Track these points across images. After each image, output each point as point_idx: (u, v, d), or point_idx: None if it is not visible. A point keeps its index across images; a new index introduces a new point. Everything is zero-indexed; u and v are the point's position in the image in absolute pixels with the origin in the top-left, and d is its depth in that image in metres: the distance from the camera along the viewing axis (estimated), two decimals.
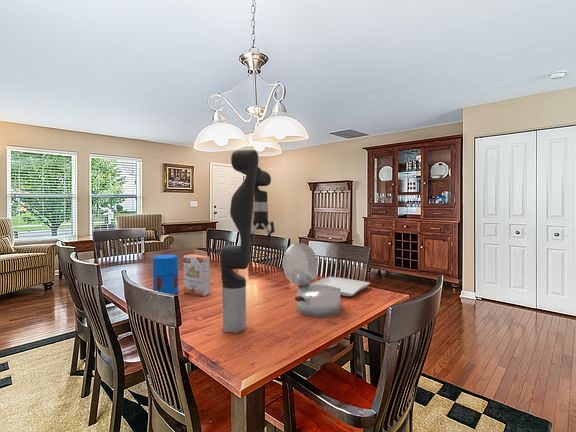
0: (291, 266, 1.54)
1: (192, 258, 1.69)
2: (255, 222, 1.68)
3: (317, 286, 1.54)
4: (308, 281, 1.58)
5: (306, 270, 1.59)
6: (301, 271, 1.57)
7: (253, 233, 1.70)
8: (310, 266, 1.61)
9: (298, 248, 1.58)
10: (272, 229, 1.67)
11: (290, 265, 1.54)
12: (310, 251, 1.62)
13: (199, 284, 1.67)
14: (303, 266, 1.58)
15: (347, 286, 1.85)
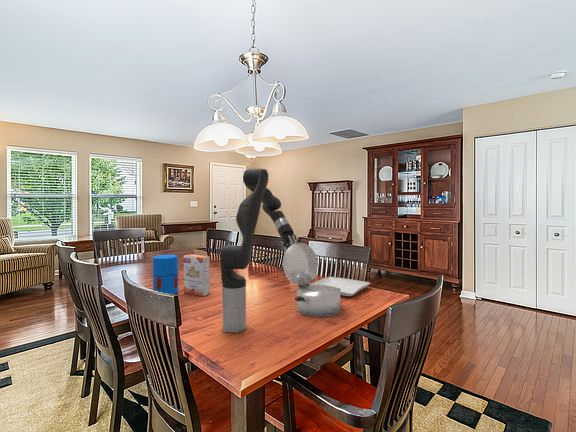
0: (292, 266, 1.54)
1: (192, 258, 1.69)
2: (284, 235, 1.63)
3: (317, 286, 1.54)
4: (308, 281, 1.58)
5: (306, 270, 1.58)
6: (301, 271, 1.57)
7: None
8: (310, 266, 1.60)
9: (298, 248, 1.58)
10: (299, 242, 1.64)
11: (290, 265, 1.53)
12: (310, 251, 1.62)
13: (199, 284, 1.67)
14: (303, 266, 1.58)
15: (347, 286, 1.85)
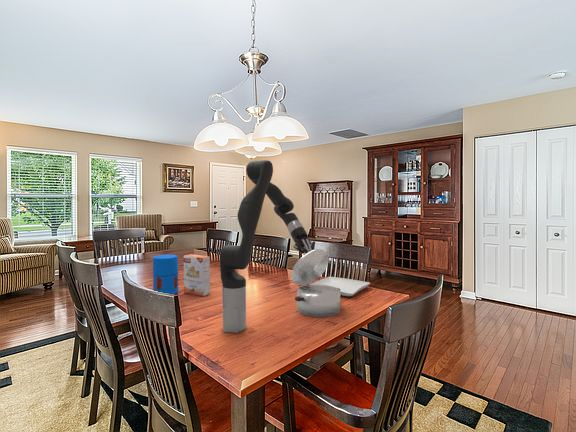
0: (301, 270, 1.48)
1: (192, 258, 1.69)
2: (298, 239, 1.54)
3: (317, 286, 1.54)
4: (309, 282, 1.57)
5: (312, 273, 1.55)
6: (307, 274, 1.53)
7: None
8: (318, 270, 1.56)
9: (315, 255, 1.48)
10: (313, 247, 1.55)
11: (300, 270, 1.48)
12: (325, 258, 1.53)
13: (199, 284, 1.67)
14: (311, 270, 1.53)
15: (347, 286, 1.85)
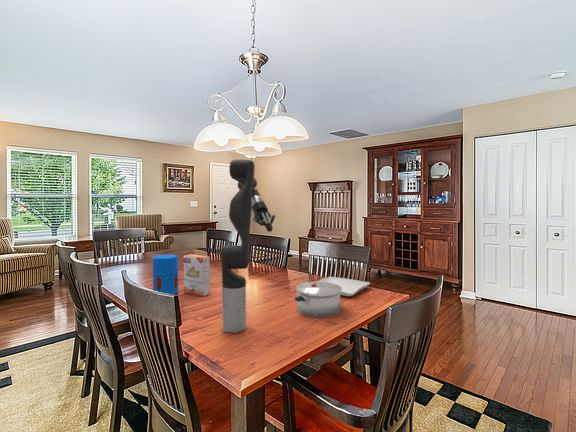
0: None
1: (192, 258, 1.69)
2: (258, 213, 1.61)
3: None
4: None
5: None
6: None
7: None
8: None
9: None
10: (272, 220, 1.62)
11: None
12: None
13: (199, 284, 1.67)
14: None
15: (347, 286, 1.85)
